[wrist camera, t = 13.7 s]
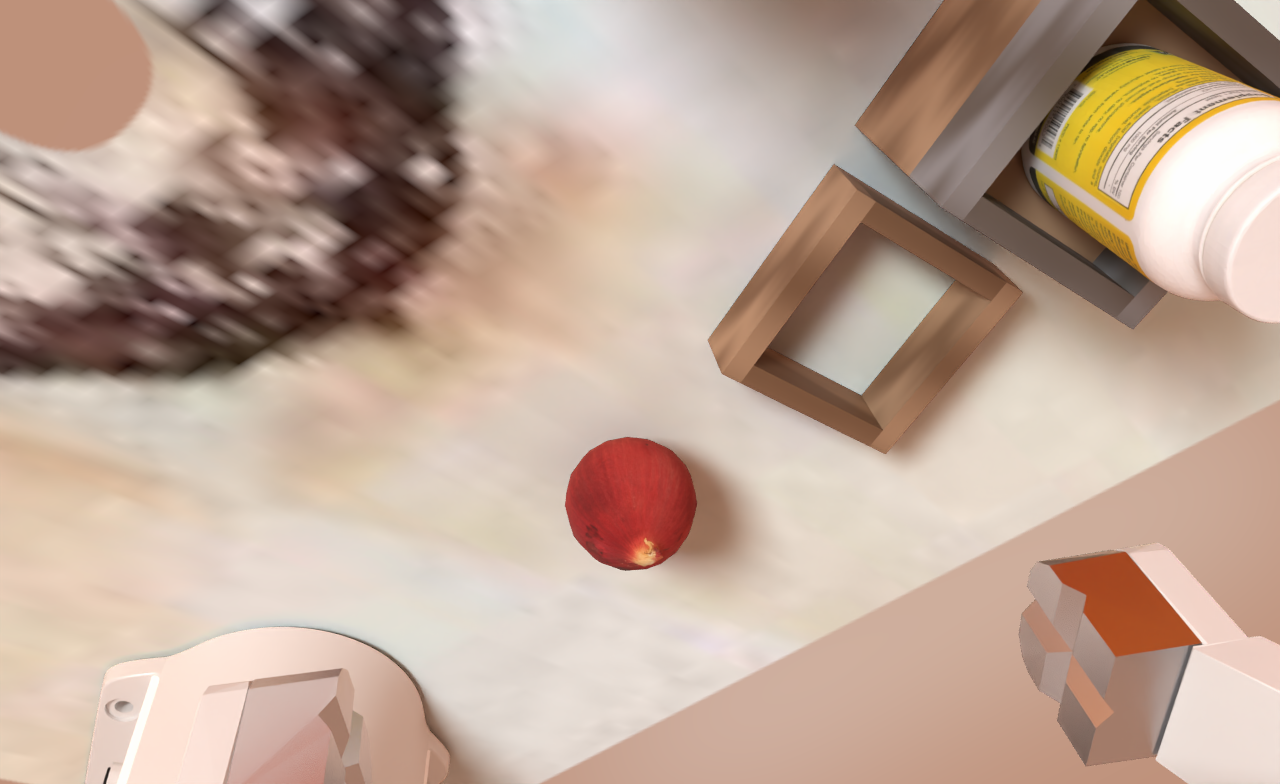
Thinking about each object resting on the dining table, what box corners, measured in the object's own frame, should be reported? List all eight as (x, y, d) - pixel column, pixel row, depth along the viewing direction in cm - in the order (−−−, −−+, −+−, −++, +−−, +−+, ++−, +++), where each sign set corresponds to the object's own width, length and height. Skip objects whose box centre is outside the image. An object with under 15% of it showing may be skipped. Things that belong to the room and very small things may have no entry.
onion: (638, 518, 51) (664, 633, 44) (537, 477, 49) (549, 592, 42) (701, 432, 49) (739, 539, 42) (599, 385, 47) (622, 491, 40)
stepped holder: (868, 420, 50) (940, 539, 42) (703, 337, 46) (750, 452, 39) (1186, 36, 42) (1345, 98, 34) (1018, -105, 38) (1156, -69, 30)
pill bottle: (1174, 181, 38) (1400, 316, 29) (1017, 225, 39) (1193, 374, 29) (1185, 15, 35) (1444, 110, 26) (1012, 64, 35) (1210, 176, 26)
